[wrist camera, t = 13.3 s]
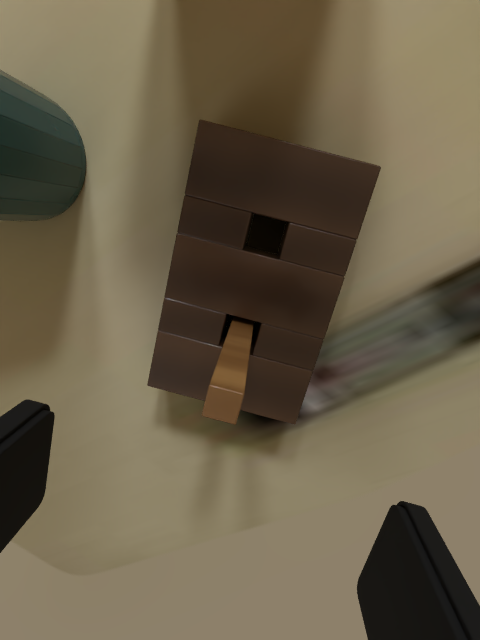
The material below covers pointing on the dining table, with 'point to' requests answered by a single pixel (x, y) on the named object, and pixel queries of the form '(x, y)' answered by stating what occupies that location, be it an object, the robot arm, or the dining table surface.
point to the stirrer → (230, 373)
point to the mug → (36, 154)
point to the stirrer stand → (258, 264)
